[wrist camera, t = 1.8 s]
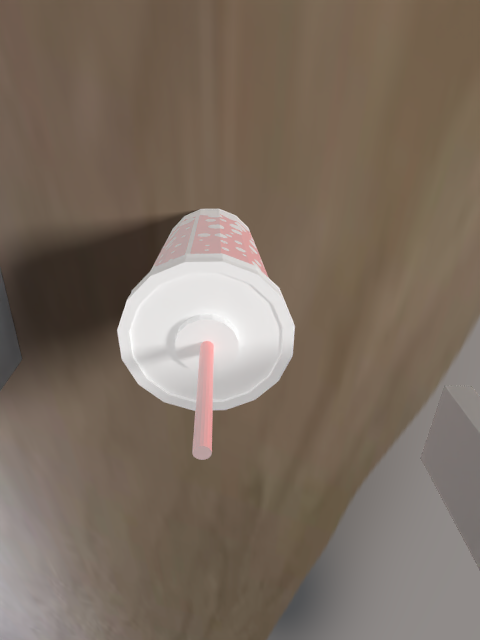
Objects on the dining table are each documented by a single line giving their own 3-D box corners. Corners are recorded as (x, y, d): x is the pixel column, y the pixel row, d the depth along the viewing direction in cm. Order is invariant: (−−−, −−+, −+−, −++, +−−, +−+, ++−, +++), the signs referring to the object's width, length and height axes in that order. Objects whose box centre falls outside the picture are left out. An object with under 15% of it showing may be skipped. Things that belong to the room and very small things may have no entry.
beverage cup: (170, 313, 25) (122, 546, 12) (137, 206, 22) (30, 377, 9) (277, 292, 24) (336, 512, 12) (258, 180, 21) (311, 323, 9)
